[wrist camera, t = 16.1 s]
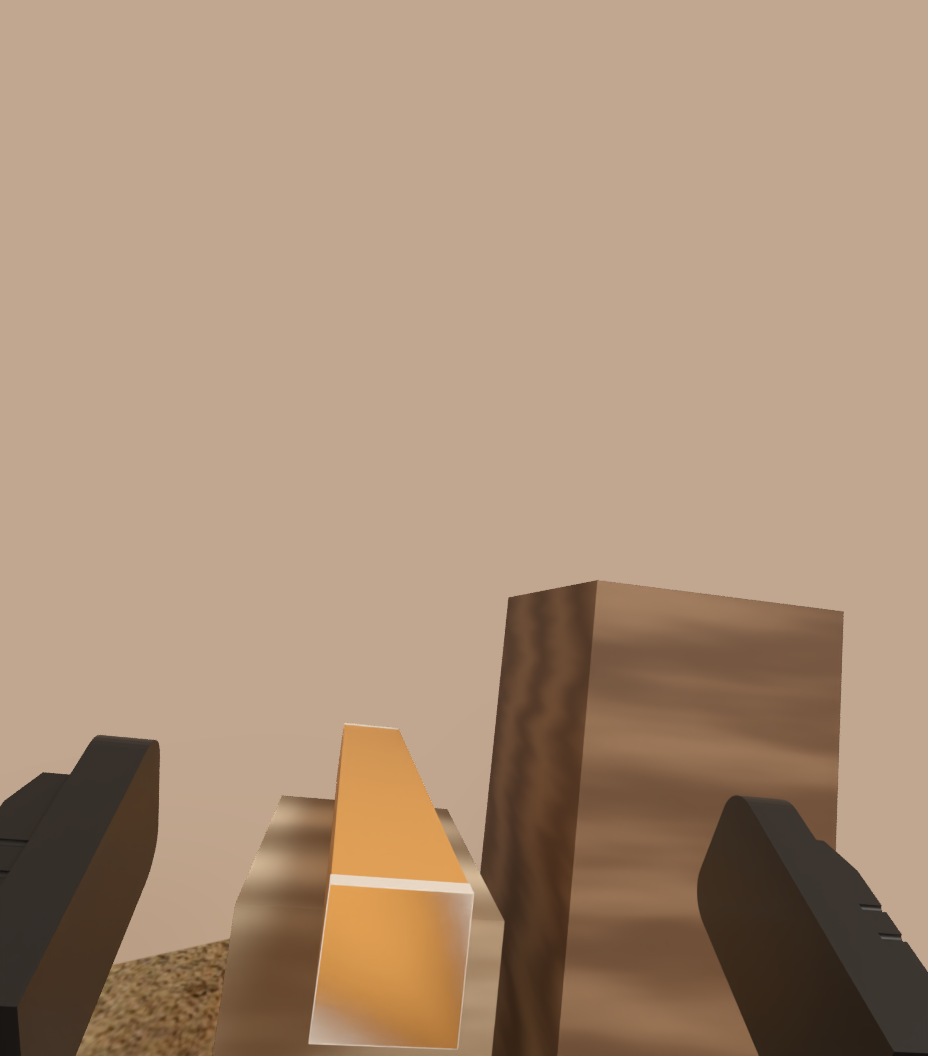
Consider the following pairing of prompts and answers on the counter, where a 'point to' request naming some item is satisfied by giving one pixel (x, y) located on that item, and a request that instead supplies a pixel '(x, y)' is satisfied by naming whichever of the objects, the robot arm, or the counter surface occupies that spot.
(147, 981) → the counter surface
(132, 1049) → the counter surface
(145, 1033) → the counter surface
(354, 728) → the pale tan wood block
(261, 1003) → the short stand
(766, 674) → the tall stand
